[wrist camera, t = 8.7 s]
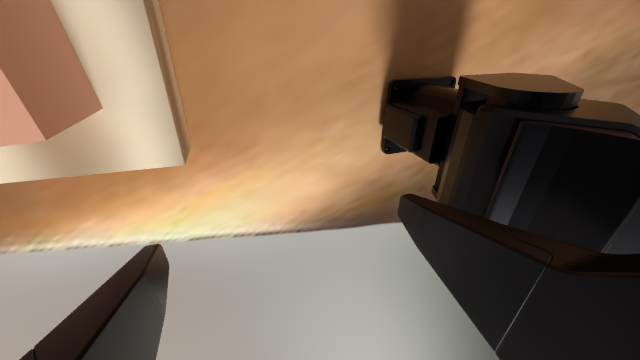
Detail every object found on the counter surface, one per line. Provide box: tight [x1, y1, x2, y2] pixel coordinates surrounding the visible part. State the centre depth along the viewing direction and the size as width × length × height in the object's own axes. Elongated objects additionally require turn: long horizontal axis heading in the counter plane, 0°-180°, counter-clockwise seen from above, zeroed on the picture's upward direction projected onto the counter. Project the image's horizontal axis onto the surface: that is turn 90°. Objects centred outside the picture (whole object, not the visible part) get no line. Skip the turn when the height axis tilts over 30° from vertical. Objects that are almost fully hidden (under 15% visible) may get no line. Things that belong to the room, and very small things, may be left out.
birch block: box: [0, 0, 191, 184], centre depth 13 cm, size 11×11×4 cm
